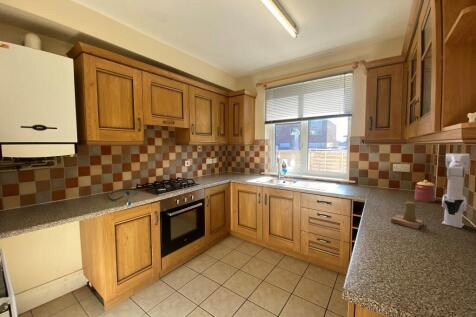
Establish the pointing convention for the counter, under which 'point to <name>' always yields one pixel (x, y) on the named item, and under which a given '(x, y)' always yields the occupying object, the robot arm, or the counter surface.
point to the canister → (425, 191)
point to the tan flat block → (406, 222)
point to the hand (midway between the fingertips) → (453, 213)
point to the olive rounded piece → (410, 212)
